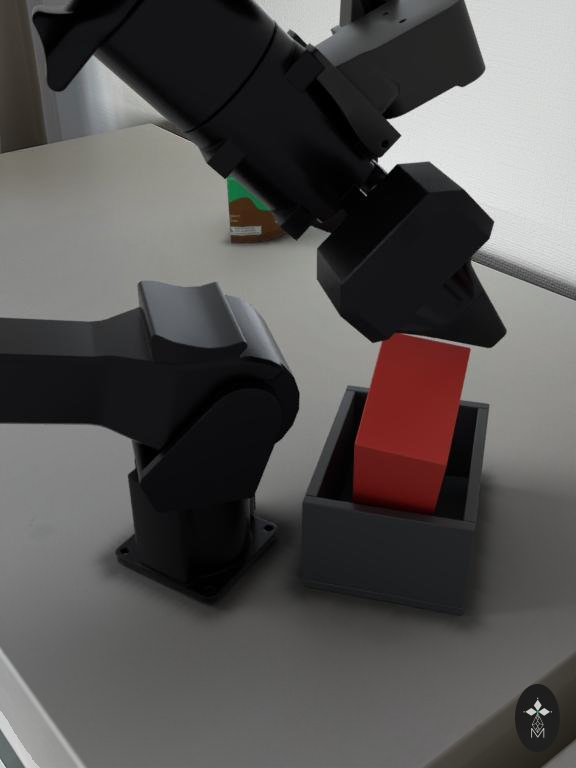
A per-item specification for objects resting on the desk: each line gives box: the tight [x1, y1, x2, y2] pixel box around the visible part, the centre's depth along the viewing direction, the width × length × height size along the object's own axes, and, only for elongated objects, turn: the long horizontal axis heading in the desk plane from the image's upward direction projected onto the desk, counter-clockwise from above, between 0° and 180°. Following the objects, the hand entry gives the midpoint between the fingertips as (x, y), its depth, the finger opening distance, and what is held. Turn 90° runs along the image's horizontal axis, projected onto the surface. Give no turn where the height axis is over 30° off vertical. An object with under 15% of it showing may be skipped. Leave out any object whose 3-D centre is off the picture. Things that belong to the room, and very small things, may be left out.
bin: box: [301, 384, 490, 616], centre depth 47 cm, size 11×8×6 cm
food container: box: [226, 175, 288, 244], centre depth 85 cm, size 12×6×10 cm, turn 168°
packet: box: [353, 333, 472, 516], centre depth 43 cm, size 4×6×11 cm, turn 162°
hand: (457, 295), depth 43 cm, fingers open, 9 cm apart
